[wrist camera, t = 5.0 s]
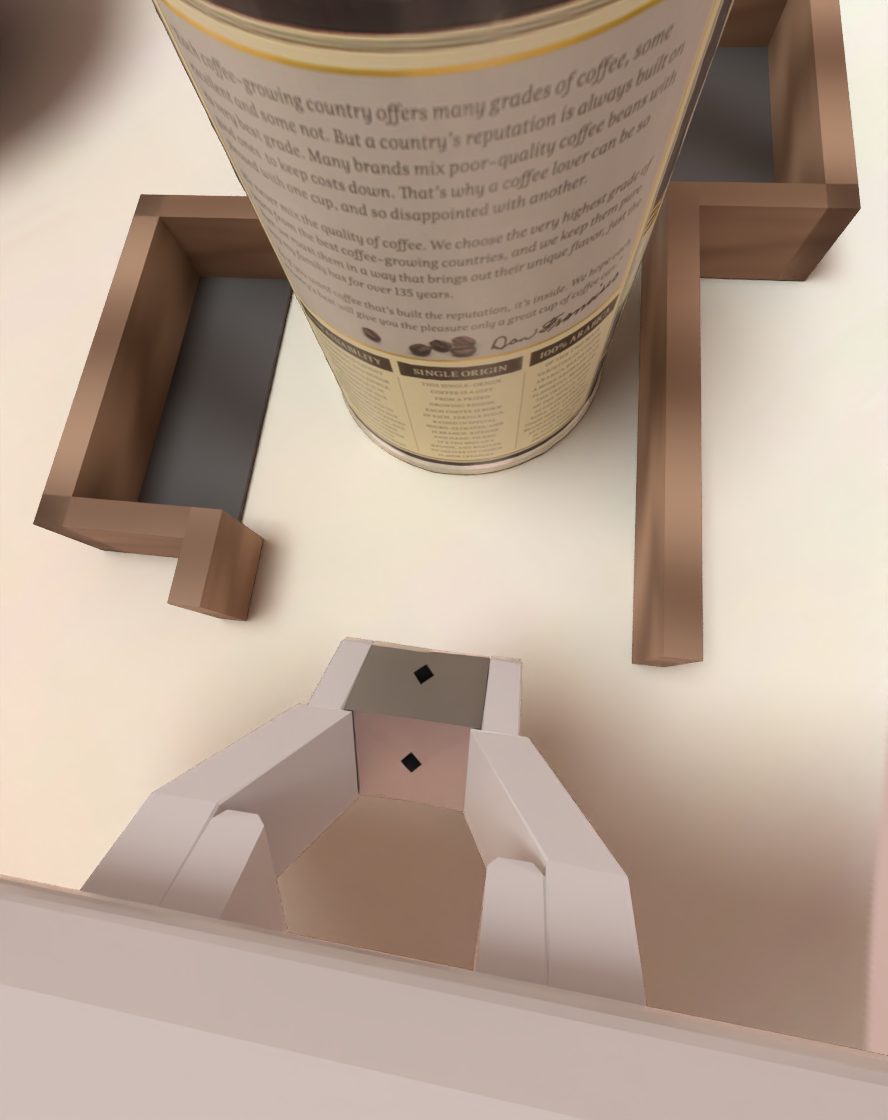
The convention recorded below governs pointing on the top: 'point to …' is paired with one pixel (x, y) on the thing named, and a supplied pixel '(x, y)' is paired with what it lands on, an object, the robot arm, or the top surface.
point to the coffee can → (454, 192)
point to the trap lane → (264, 294)
